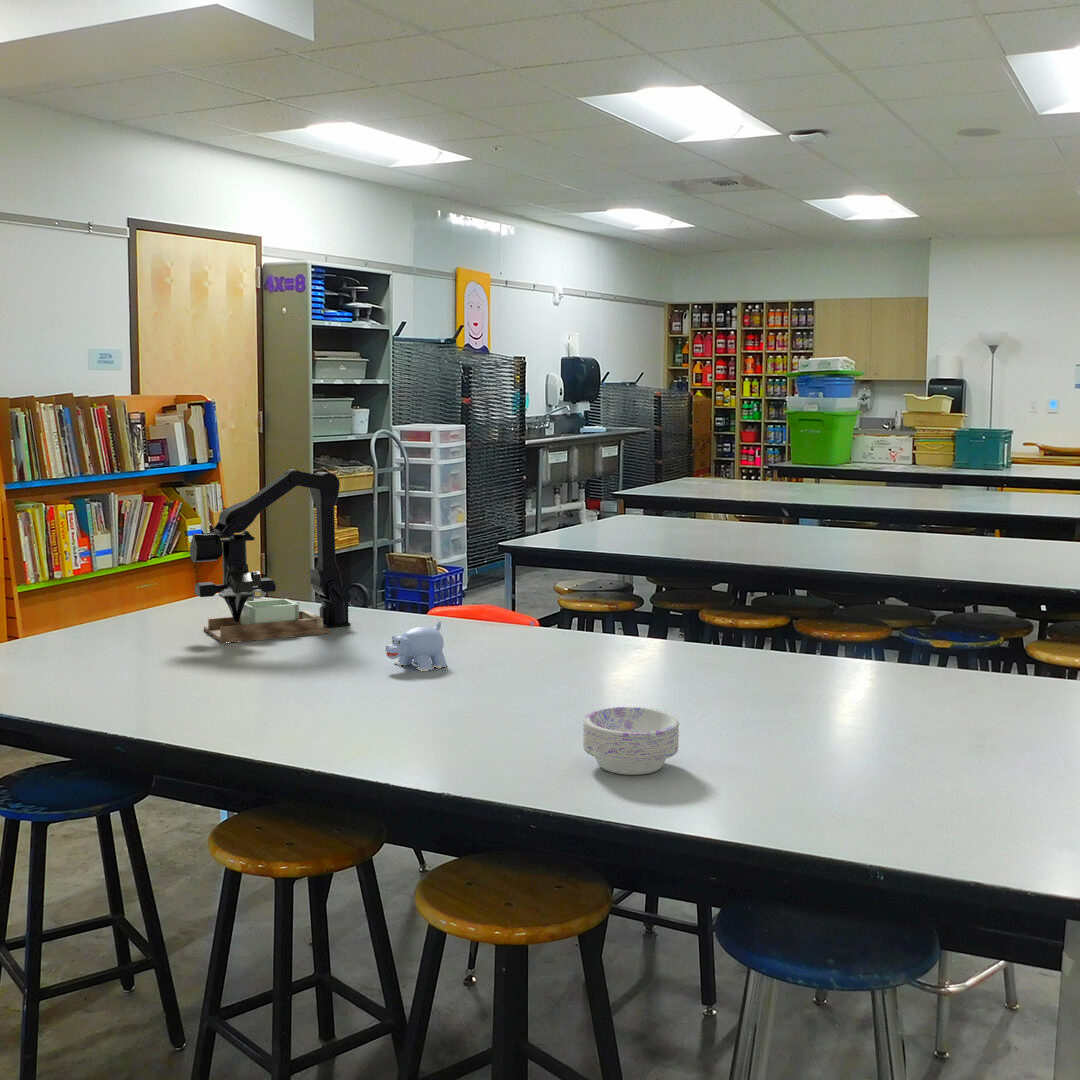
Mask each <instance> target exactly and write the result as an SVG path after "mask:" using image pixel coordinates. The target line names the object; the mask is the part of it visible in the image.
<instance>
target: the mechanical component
mask: <svg viewBox="0 0 1080 1080" xmlns="http://www.w3.org/2000/svg"><path fill="white" fill-rule="evenodd" d="M255 593H260V595H259V594H258V595H256V594H255ZM251 594H253V596H251V597H249V598H248V599H247V600H246V602H248V601H255V599H262V598H263V597H264V598H265V596H266V595H267V592H263V591H262V590H261V589H254V590H253V591H252V592H251ZM233 595H235V593H234V592H233Z"/></svg>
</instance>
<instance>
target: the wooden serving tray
mask: <svg viewBox="0 0 1080 1080" xmlns="http://www.w3.org/2000/svg"><path fill="white" fill-rule="evenodd" d="M207 622H208V623H207V626H203V631H204V630H205V631H206V632H208V633H209V634H211V635H212V636H213V637H215V638H216V639H218V640H219V641H220V643H221V642H222V643H225V644H229V643H228V642H236V643H239V642H238V641H246V642H250V641H249V640H257V641H262V640H261V639H267V640H271V639H270V638H277V639H283V638H282V637H288V638H292V637H291V636H298V637H302V636H301V635H309V636H314V635H313V634H319V635H324V634H323V633H330V634H331V629H330V628H329V627H326V626H324V625H323V618H321V617H320V615H317V614H315V613H313V612H311V611H309V610H306V609H305V610H299V620H290V621H278V622H267V623H256V624H244V625H240V619H239V621H238V622H235V621H234V619H233V616H222V617H213V618H208V619H207ZM205 631H204V632H205ZM206 632H205V633H206ZM208 633H207V634H208ZM209 634H208V635H209ZM211 635H210V636H211ZM212 636H211V637H212ZM215 638H214V639H215ZM216 639H215V640H216ZM218 640H217V641H218ZM219 641H218V642H219ZM226 642H227V643H226ZM222 643H221V644H222Z"/></svg>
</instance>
